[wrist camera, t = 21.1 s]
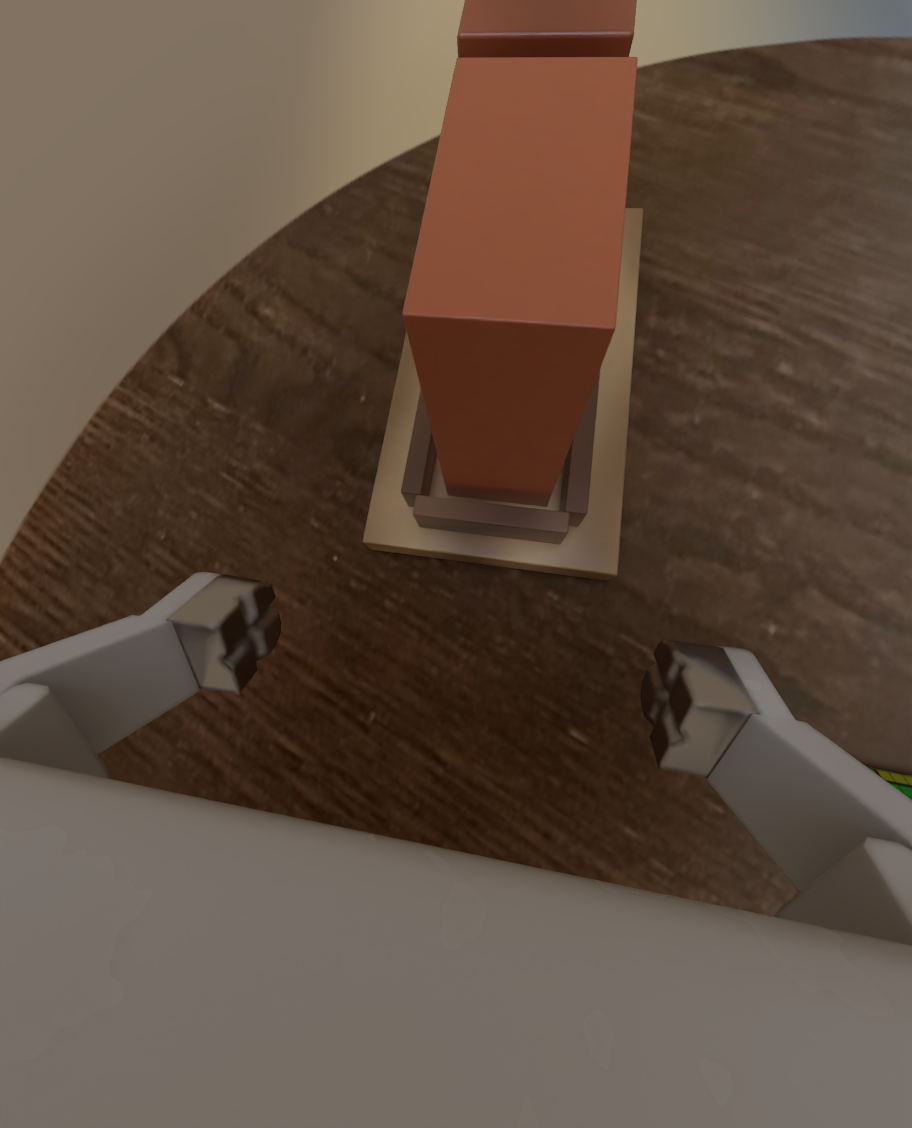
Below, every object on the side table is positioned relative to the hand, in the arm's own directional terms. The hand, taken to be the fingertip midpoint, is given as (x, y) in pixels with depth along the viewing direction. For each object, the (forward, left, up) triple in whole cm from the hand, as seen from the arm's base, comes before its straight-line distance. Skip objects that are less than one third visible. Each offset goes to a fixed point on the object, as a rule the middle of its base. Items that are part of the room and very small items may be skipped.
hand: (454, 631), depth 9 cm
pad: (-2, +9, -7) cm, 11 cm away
